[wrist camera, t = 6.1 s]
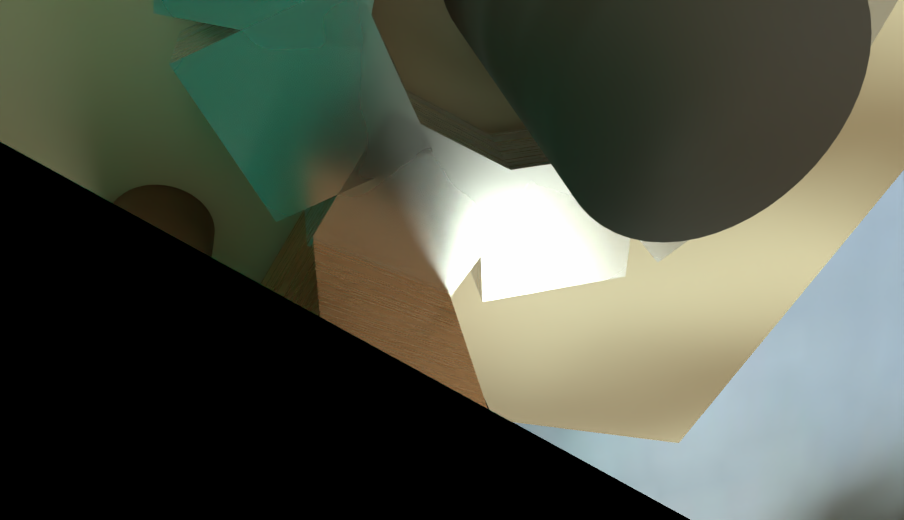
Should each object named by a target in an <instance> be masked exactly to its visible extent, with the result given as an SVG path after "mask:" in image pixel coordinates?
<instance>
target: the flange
mask: <svg viewBox="0 0 904 520" xmlns="http://www.w3.org/2000/svg"><path fill="white" fill-rule="evenodd" d="M897 1H898V0H868V4H869V9H870V14H871V30H872V36H871V45H872V43H873V42H874V40H875V38H876V37H877V35H878V33H879V32H880V30H881V28H882V27H883V25H884V23H885V22H886V20H887V18H888V17H889V15H890V13H891V12H892V10H893V8H894V6H895V5H896V3H897ZM373 4H374V0H154V7H153V13H154V14H159V15H165V16H170V17H175V18H180V19H185V20H191V21H196V22H199V23H197V24H195V25H193V26H191V27H188V28H186V29H184V30H182V31H180V32H179V35H178V38H177V41H176V44H175V47H174V50H173V53H172V56H171V59H170V62H169V65H170V67H171V68H172V70H173V71H174V72H175V74H176V75H177V77H178V78H179V80H180V81H181V83H182V84H183V86H184V87H185V89H186V90H187V92H188V93H189V95H190V96H191V97H192V99H193V100H194V102H195V103H196V105H197V106H198V108H199V109H200V111H201V112H202V114H203V115H204V117H205V118H206V120H207V121H208V122H209V124H210V125H211V127H212V128H213V130H214V131H215V133H216V134H217V136H218V137H219V139H220V140H221V142H222V143H223V145H224V146H225V147H226V149H227V150H228V152H229V153H230V155H231V156H232V158H233V159H234V161H235V162H236V164H237V165H238V167H239V168H240V170H241V171H242V172H243V174H244V175H245V177H246V178H247V180H248V181H249V183H250V184H251V186H252V187H253V189H254V190H255V192H256V193H257V195H258V196H259V197H260V199H261V200H262V202H263V203H264V205H265V206H266V208H267V209H268V211H269V212H270V214H271V215H272V217H273V218H274V220H275V221H276V222H278V221H280V220H282V219H284V218H287V217H289V216H291V215H293V214H296V213H298V212H300V211H302V210H303V212H302V213H301V215H300V217H299V218H298V220H297V222H296V224H295V225H294V227H293V229H292V231H291V232H290V234H289V236H288V237H287V239H286V241H285V243H284V244H283V246H282V248H281V249H280V251H279V253H278V255H277V256H276V258H275V260H274V261H273V263H272V265H271V267H270V268H269V270H268V272H267V273H266V275H265V277H264V279H263V280H262V282H261V285H263V286H265V287H267V288H268V289H270V290H272V291H274V292H276V293H277V294H279V295H281V296H283V297H285V298H287V299H288V300H290V301H292V302H294V303H296V304H298V305H299V306H301V307H303V308H305V309H307V310H309V311H310V312H312V313H314V314H316V315H318V316H319V317H321V318H323V319H325V320H327V321H329V322H330V323H332V324H334V325H336V326H338V327H340V328H341V329H343V330H345V331H347V332H349V333H350V334H352V335H354V336H356V337H358V338H360V339H361V340H363V341H365V342H367V343H369V344H371V345H372V346H374V347H376V348H378V349H380V350H382V351H383V352H385V353H387V354H389V355H391V356H392V357H394V358H396V359H398V360H400V361H402V362H403V363H405V364H407V365H409V366H411V367H413V368H414V369H416V370H418V371H420V372H422V373H423V374H425V375H427V376H429V377H431V378H433V379H434V380H436V381H438V382H440V383H442V384H444V385H445V386H447V387H449V388H451V389H453V390H454V391H456V392H458V393H460V394H462V395H464V396H465V397H467V398H469V399H471V400H473V401H475V402H476V403H478V404H480V405H482V406H484V407H486V408H487V405H486V402H485V399H484V396H483V393H482V390H481V387H480V384H479V381H478V378H477V375H476V372H475V369H474V366H473V363H472V360H471V357H470V354H469V351H468V348H467V345H466V342H465V339H464V336H463V333H462V330H461V327H460V324H459V321H458V318H457V315H456V312H455V309H454V306H453V303H452V300H451V295H452V294H453V293H454V291H455V290H456V289H457V287H458V286H459V285H460V283H461V282H462V281H463V279H464V278H465V277H466V275H467V274H468V273H469V271H471V274H472V276H473V279H474V282H475V284H476V287H477V289H478V292H479V294H480V297H481V300H482V302H484V301H490V300H496V299H501V298H507V297H513V296H518V295H524V294H530V293H535V292H541V291H547V290H552V289H558V288H564V287H569V286H575V285H581V284H586V283H592V282H598V281H603V280H609V279H615V278H620V277H625V275H626V267H627V260H628V253H629V245H630V238H628V237H625V236H622V235H619V234H616V233H614V232H613V231H611V230H609V229H607V228H605V227H603V226H602V225H600V224H599V223H598V222H596V221H595V220H594V219H592V218H591V217H590V216H589V215H588V214H587V213H586V212H585V211H584V210H583V209H582V208H581V206H580V205H579V204H578V203H577V201H576V200H575V198H574V197H573V195H572V194H571V192H570V191H569V190H568V188H567V187H566V185H565V184H564V182H563V181H562V179H561V178H560V176H559V175H558V174H557V172H556V171H555V169H554V168H553V166H552V165H551V163H550V162H549V160H548V159H547V158H546V156H545V155H544V153H543V152H542V150H541V149H540V147H539V146H538V144H537V143H536V141H535V140H534V139H533V137H532V136H531V134H530V133H529V131H528V130H527V129H520V130H513V131H506V132H499V133H492V134H489V133H487V132H485V131H483V130H481V129H480V128H478V127H476V126H474V125H472V124H470V123H468V122H467V121H465V120H463V119H461V118H459V117H457V116H455V115H453V114H452V113H450V112H448V111H446V110H444V109H442V108H440V107H438V106H437V105H435V104H433V103H431V102H429V101H427V100H425V99H423V98H422V97H420V96H418V95H416V94H414V93H412V92H410V91H408V90H407V89H406V88H405V86H404V84H403V81H402V79H401V77H400V75H399V72H398V70H397V68H396V66H395V64H394V61H393V59H392V57H391V55H390V52H389V50H388V48H387V46H386V44H385V41H384V39H383V37H382V35H381V32H380V30H379V28H378V26H377V24H376V21H375V19H374V17H373V15H372V9H373ZM687 241H688V240H686V241H681V242H665V243H662V242H646V241H641V240H640V242H641V243H642V244H643V245H644V247H645V248H646V249H647V250H648V251H649V253H650V254H651V255H652V256H653V258H654V259H655V260H656V261H657V263H658V262H659V261H661V260H662V259H663V258H665V257H666V256H668V255H669V254H670V253H672V252H673V251H675V250H676V249H677V248H679V247H680V246H681V245H683V244H684V243H686V242H687ZM487 409H488V408H487Z"/></svg>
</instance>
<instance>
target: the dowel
mask: <svg viewBox="0 0 904 520" xmlns="http://www.w3.org/2000/svg"><path fill="white" fill-rule="evenodd" d="M113 204H115V205H117V206H119V207H121V208H122V209H124V210H126V211H128V212H130V213H132V214H133V215H135V216H137V217H139V218H141V219H142V220H144V221H146V222H148V223H150V224H152V225H153V226H155V227H157V228H159V229H161V230H163V231H164V232H166V233H168V234H170V235H172V236H173V237H175V238H177V239H179V240H181V241H183V242H184V243H186V244H188V245H190V246H192V247H194V248H195V249H197V250H199V251H201V252H203V253H205V254H206V255H208V256H210V257H212V253H213V244H214V235H215V227H214V222H213V219H212V216H211V214H210V212H209V211H208V209H207V208H206V207H205V206H204V204H203V203H202V202H201V201H199V200H198V199H197V198H196V197H194V196H193V195H191V194H190V193H188V192H186V191H184V190H181V189H179V188H175V187H172V186H166V185H145V186H140V187H136V188H133V189H131V190H129V191H127V192H125V193H123V194H122V195H121V196H119V197H118V198H117V199H116V200H115V201H114V203H113Z"/></svg>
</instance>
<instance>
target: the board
mask: <svg viewBox="0 0 904 520" xmlns="http://www.w3.org/2000/svg"><path fill="white" fill-rule="evenodd" d="M153 7H154V0H0V142H2V143H4V144H6V145H7V146H9V147H11V148H13V149H15V150H17V151H18V152H20V153H22V154H24V155H26V156H28V157H29V158H31V159H33V160H35V161H37V162H38V163H40V164H42V165H44V166H46V167H48V168H49V169H51V170H53V171H55V172H57V173H59V174H60V175H62V176H64V177H66V178H68V179H69V180H71V181H73V182H75V183H77V184H79V185H80V186H82V187H84V188H86V189H88V190H90V191H91V192H93V193H95V194H97V195H99V196H100V197H102V198H104V199H106V200H108V201H110V202H111V203H114V201H115V200H116V199H117V198H118V197H119V196H121V195H122V194H123V193H125V192H127V191H129V190H131V189H133V188H136V187H140V186H145V185H166V186H172V187H175V188H179V189H181V190H184V191H186V192H188V193H190V194H191V195H193V196H194V197H196V198H197V199H198V200H199V201H201V202H202V203H203V204H204V206H205V207H206V208H207V209H208V211H209V212H210V214H211V216H212V219H213V222H214V227H215V235H214V244H213V253H212V258H214V259H215V260H217V261H219V262H221V263H223V264H225V265H226V266H228V267H230V268H232V269H234V270H236V271H237V272H239V273H241V274H243V275H245V276H246V277H248V278H250V279H252V280H254V281H256V282H257V283H259V284H261V282H262V280H263V279H264V277H265V275H266V273H267V272H268V270H269V268H270V267H271V265H272V263H273V261H274V260H275V258H276V256H277V255H278V253H279V251H280V249H281V248H282V246H283V244H284V243H285V241H286V239H287V237H288V236H289V234H290V232H291V231H292V229H293V227H294V225H295V224H296V222H297V220H298V218H299V217H300V215H301V213H302V212H303V210H302V211H300V212H298V213H296V214H293V215H291V216H289V217H287V218H284V219H282V220H280V221H278V222H276V221H275V220H274V218H273V217H272V215H271V214H270V212H269V211H268V209H267V208H266V206H265V205H264V203H263V202H262V200H261V199H260V197H259V196H258V195H257V193H256V192H255V190H254V189H253V187H252V186H251V184H250V183H249V181H248V180H247V178H246V177H245V175H244V174H243V172H242V171H241V170H240V168H239V167H238V165H237V164H236V162H235V161H234V159H233V158H232V156H231V155H230V153H229V152H228V150H227V149H226V147H225V146H224V145H223V143H222V142H221V140H220V139H219V137H218V136H217V134H216V133H215V131H214V130H213V128H212V127H211V125H210V124H209V122H208V121H207V120H206V118H205V117H204V115H203V114H202V112H201V111H200V109H199V108H198V106H197V105H196V103H195V102H194V100H193V99H192V97H191V96H190V95H189V93H188V92H187V90H186V89H185V87H184V86H183V84H182V83H181V81H180V80H179V78H178V77H177V75H176V74H175V72H174V71H173V70H172V68H171V67H170V65H169V62H170V59H171V56H172V53H173V50H174V47H175V44H176V41H177V38H178V35H179V32H180V31H182V30H184V29H186V28H188V27H191V26H193V25H195V24H197V23H199V22H196V21H191V20H185V19H180V18H175V17H170V16H165V15H159V14H154V13H153ZM372 15H373V17H374V19H375V21H376V24H377V26H378V28H379V30H380V32H381V35H382V37H383V39H384V41H385V44H386V46H387V48H388V50H389V52H390V55H391V57H392V59H393V61H394V64H395V66H396V68H397V70H398V72H399V75H400V77H401V79H402V81H403V84H404V86H405V88H406V89H407V90H408V91H410V92H412V93H414V94H416V95H418V96H420V97H422V98H423V99H425V100H427V101H429V102H431V103H433V104H435V105H437V106H438V107H440V108H442V109H444V110H446V111H448V112H450V113H452V114H453V115H455V116H457V117H459V118H461V119H463V120H465V121H467V122H468V123H470V124H472V125H474V126H476V127H478V128H480V129H481V130H483V131H485V132H487V133H489V134H492V133H499V132H506V131H513V130H520V129H527V130H528V131H529V133H530V134H531V136H532V137H533V139H534V140H535V141H536V143H537V144H538V146H539V147H540V149H541V150H542V152H543V153H544V155H545V156H546V158H547V159H548V160H549V162H550V163H551V165H552V166H553V168H554V169H555V171H556V172H557V174H558V175H559V176H560V178H561V179H562V181H563V182H564V184H565V185H566V187H567V188H568V190H569V191H570V192H571V194H572V195H573V197H574V198H575V200H576V201H577V203H578V204H579V205H580V206H581V208H582V209H583V210H584V211H585V212H586V213H587V214H588V215H589V216H590V217H591V218H592V219H594V220H595V221H596V222H598V223H599V224H600V225H602V226H603V227H605V228H607V229H609V230H611V231H613V232H614V233H616V234H619V235H622V236H625V237H628V238H630V245H629V253H628V260H627V267H626V275H625V277H620V278H615V279H609V280H603V281H598V282H592V283H586V284H581V285H575V286H569V287H564V288H558V289H552V290H547V291H541V292H535V293H530V294H524V295H518V296H513V297H507V298H501V299H496V300H490V301H484V302H482V300H481V297H480V294H479V292H478V289H477V287H476V284H475V282H474V279H473V276H472V274H471V271H469V273H468V274H467V275H466V277H465V278H464V279H463V281H462V282H461V283H460V285H459V286H458V287H457V289H456V290H455V291H454V293H453V294H452V295H451V300H452V303H453V306H454V309H455V312H456V315H457V318H458V321H459V324H460V327H461V330H462V333H463V336H464V339H465V342H466V345H467V348H468V351H469V354H470V357H471V360H472V363H473V366H474V369H475V372H476V375H477V378H478V381H479V384H480V387H481V390H482V393H483V396H484V399H485V401H486V403H487V405H488V407H489V410H491V411H493V412H495V413H496V414H498V415H500V416H502V417H504V418H506V419H507V420H509V421H511V422H517V423H525V424H533V425H541V426H549V427H557V428H565V429H572V430H580V431H588V432H596V433H604V434H612V435H620V436H628V437H636V438H644V439H652V440H660V441H667V442H675V443H679V442H680V441H681V440H682V438H683V437H684V436H685V435H686V433H687V432H688V431H689V430H690V429H691V427H692V426H693V425H694V424H695V423H696V421H697V420H698V419H699V418H700V416H701V415H702V414H703V413H704V412H705V410H706V409H707V408H708V407H709V406H710V404H711V403H712V402H713V401H714V399H715V398H716V397H717V396H718V395H719V393H720V392H721V391H722V390H723V389H724V387H725V386H726V385H727V384H728V382H729V381H730V380H731V379H732V378H733V376H734V375H735V374H736V373H737V372H738V370H739V369H740V368H741V367H742V365H743V364H744V363H745V362H746V361H747V359H748V358H749V357H750V356H751V355H752V353H753V352H754V351H755V350H756V348H757V347H758V346H759V345H760V344H761V342H762V341H763V340H764V339H765V338H766V336H767V335H768V334H769V333H770V331H771V330H772V329H773V328H774V327H775V325H776V324H777V323H778V322H779V321H780V319H781V318H782V317H783V316H784V314H785V313H786V312H787V311H788V310H789V308H790V307H791V306H792V305H793V304H794V302H795V301H796V300H797V299H798V297H799V296H800V295H801V294H802V293H803V291H804V290H805V289H806V288H807V287H808V285H809V284H810V283H811V282H812V280H813V279H814V278H815V277H816V276H817V274H818V273H819V272H820V271H821V270H822V268H823V267H824V266H825V265H826V263H827V262H828V261H829V260H830V259H831V257H832V256H833V255H834V254H835V253H836V251H837V250H838V249H839V248H840V246H841V245H842V244H843V243H844V242H845V240H846V239H847V238H848V237H849V235H850V234H851V233H852V232H853V231H854V229H855V228H856V227H857V226H858V225H859V223H860V222H861V221H862V220H863V218H864V217H865V216H866V215H867V214H868V212H869V211H870V210H871V209H872V208H873V206H874V205H875V204H876V203H877V201H878V200H879V199H880V198H881V197H882V195H883V194H884V193H885V192H886V191H887V189H888V188H889V187H890V186H891V184H892V183H893V182H894V181H895V180H896V178H897V177H898V176H899V175H900V174H901V172H902V171H903V170H904V0H898V1H897V3H896V5H895V6H894V8H893V10H892V12H891V13H890V15H889V17H888V18H887V20H886V22H885V23H884V25H883V27H882V28H881V30H880V32H879V33H878V35H877V37H876V38H875V40H874V42H873V43H872V45H871V36H872V30H871V14H870V9H869V4H868V0H374V4H373V9H372ZM640 240H641V241H646V242H662V243H665V242H681V241H686V240H688V241H687V242H686V243H684V244H683V245H681V246H680V247H679V248H677V249H676V250H675V251H673V252H672V253H670V254H669V255H668V256H666V257H665V258H663V259H662V260H661V261H659V262H658V263H657V261H656V260H655V259H654V258H653V256H652V255H651V254H650V253H649V251H648V250H647V249H646V248H645V247H644V245H643V244H642V243H641V242H640Z"/></svg>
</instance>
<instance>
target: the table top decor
mask: <svg viewBox="0 0 904 520" xmlns="http://www.w3.org/2000/svg"><path fill="white" fill-rule="evenodd" d="M0 520H690V519H688V518H686V517H684V516H683V515H681V514H679V513H677V512H675V511H673V510H672V509H670V508H668V507H666V506H664V505H663V504H661V503H659V502H657V501H655V500H653V499H652V498H650V497H648V496H646V495H644V494H642V493H641V492H639V491H637V490H635V489H633V488H631V487H630V486H628V485H626V484H624V483H622V482H621V481H619V480H617V479H615V478H613V477H611V476H610V475H608V474H606V473H604V472H602V471H600V470H599V469H597V468H595V467H593V466H591V465H590V464H588V463H586V462H584V461H582V460H580V459H579V458H577V457H575V456H573V455H571V454H569V453H568V452H566V451H564V450H562V449H560V448H559V447H557V446H555V445H553V444H551V443H549V442H548V441H546V440H544V439H542V438H540V437H538V436H537V435H535V434H533V433H531V432H529V431H527V430H526V429H524V428H522V427H520V426H518V425H517V424H515V423H513V422H511V421H509V420H507V419H506V418H504V417H502V416H500V415H498V414H496V413H495V412H493V411H491V410H489V409H487V408H486V407H484V406H482V405H480V404H478V403H476V402H475V401H473V400H471V399H469V398H467V397H465V396H464V395H462V394H460V393H458V392H456V391H454V390H453V389H451V388H449V387H447V386H445V385H444V384H442V383H440V382H438V381H436V380H434V379H433V378H431V377H429V376H427V375H425V374H423V373H422V372H420V371H418V370H416V369H414V368H413V367H411V366H409V365H407V364H405V363H403V362H402V361H400V360H398V359H396V358H394V357H392V356H391V355H389V354H387V353H385V352H383V351H382V350H380V349H378V348H376V347H374V346H372V345H371V344H369V343H367V342H365V341H363V340H361V339H360V338H358V337H356V336H354V335H352V334H350V333H349V332H347V331H345V330H343V329H341V328H340V327H338V326H336V325H334V324H332V323H330V322H329V321H327V320H325V319H323V318H321V317H319V316H318V315H316V314H314V313H312V312H310V311H309V310H307V309H305V308H303V307H301V306H299V305H298V304H296V303H294V302H292V301H290V300H288V299H287V298H285V297H283V296H281V295H279V294H277V293H276V292H274V291H272V290H270V289H268V288H267V287H265V286H263V285H261V284H259V283H257V282H256V281H254V280H252V279H250V278H248V277H246V276H245V275H243V274H241V273H239V272H237V271H236V270H234V269H232V268H230V267H228V266H226V265H225V264H223V263H221V262H219V261H217V260H215V259H214V258H212V257H210V256H208V255H206V254H205V253H203V252H201V251H199V250H197V249H195V248H194V247H192V246H190V245H188V244H186V243H184V242H183V241H181V240H179V239H177V238H175V237H173V236H172V235H170V234H168V233H166V232H164V231H163V230H161V229H159V228H157V227H155V226H153V225H152V224H150V223H148V222H146V221H144V220H142V219H141V218H139V217H137V216H135V215H133V214H132V213H130V212H128V211H126V210H124V209H122V208H121V207H119V206H117V205H115V204H113V203H111V202H110V201H108V200H106V199H104V198H102V197H100V196H99V195H97V194H95V193H93V192H91V191H90V190H88V189H86V188H84V187H82V186H80V185H79V184H77V183H75V182H73V181H71V180H69V179H68V178H66V177H64V176H62V175H60V174H59V173H57V172H55V171H53V170H51V169H49V168H48V167H46V166H44V165H42V164H40V163H38V162H37V161H35V160H33V159H31V158H29V157H28V156H26V155H24V154H22V153H20V152H18V151H17V150H15V149H13V148H11V147H9V146H7V145H6V144H4V143H2V142H0Z"/></svg>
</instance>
